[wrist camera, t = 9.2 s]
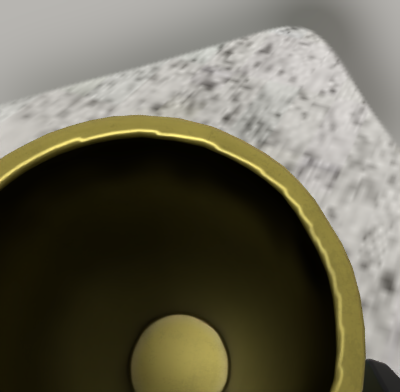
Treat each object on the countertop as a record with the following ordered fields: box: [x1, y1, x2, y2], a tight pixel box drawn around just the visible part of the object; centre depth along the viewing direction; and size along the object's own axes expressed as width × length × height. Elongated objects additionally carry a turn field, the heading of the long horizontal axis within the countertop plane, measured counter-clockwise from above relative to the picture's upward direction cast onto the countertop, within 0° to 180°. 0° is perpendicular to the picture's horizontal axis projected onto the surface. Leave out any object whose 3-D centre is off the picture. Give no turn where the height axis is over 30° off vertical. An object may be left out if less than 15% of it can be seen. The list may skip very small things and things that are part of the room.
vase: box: [0, 115, 366, 392], centre depth 10 cm, size 6×6×14 cm
